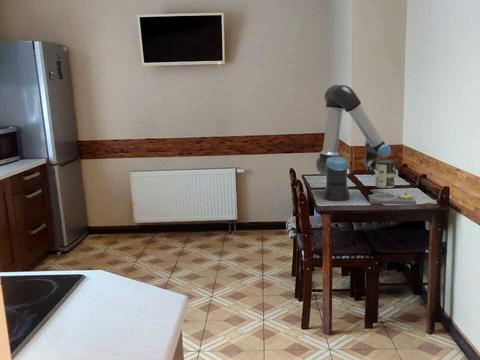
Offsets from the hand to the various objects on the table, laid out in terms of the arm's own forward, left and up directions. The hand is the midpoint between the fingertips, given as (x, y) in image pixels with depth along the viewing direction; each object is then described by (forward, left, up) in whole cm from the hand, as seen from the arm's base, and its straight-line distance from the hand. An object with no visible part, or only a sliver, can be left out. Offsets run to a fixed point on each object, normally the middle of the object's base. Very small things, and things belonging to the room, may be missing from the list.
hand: (387, 173), depth 253 cm
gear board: (+3, +4, -16) cm, 17 cm away
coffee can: (-1, +4, -8) cm, 9 cm away
